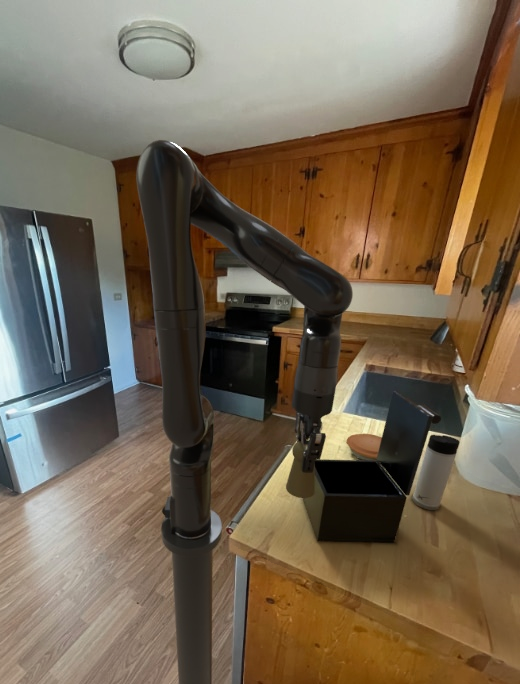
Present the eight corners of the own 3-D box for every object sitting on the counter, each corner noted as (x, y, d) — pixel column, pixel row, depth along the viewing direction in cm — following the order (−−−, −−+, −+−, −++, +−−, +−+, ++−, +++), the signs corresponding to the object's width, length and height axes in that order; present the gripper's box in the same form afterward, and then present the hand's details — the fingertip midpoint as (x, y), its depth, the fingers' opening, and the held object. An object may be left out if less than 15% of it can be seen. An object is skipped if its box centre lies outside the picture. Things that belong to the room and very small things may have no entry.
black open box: (317, 541, 75) (324, 495, 70) (303, 499, 89) (308, 459, 84) (394, 543, 75) (407, 497, 70) (368, 501, 89) (377, 460, 84)
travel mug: (418, 510, 86) (438, 442, 78) (408, 494, 92) (426, 430, 84) (444, 512, 85) (466, 444, 77) (432, 496, 91) (452, 431, 83)
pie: (394, 471, 102) (398, 457, 100) (342, 459, 108) (344, 446, 106) (394, 449, 115) (397, 436, 113) (347, 439, 121) (349, 427, 119)
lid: (429, 416, 63) (458, 417, 63) (393, 390, 77) (417, 391, 77) (405, 495, 70) (431, 496, 70) (376, 458, 84) (398, 459, 84)
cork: (310, 481, 73) (317, 437, 69) (317, 498, 67) (325, 452, 63) (283, 480, 73) (288, 436, 69) (288, 497, 68) (294, 451, 63)
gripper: (287, 374, 68) (280, 445, 75) (303, 400, 55) (292, 484, 61) (323, 375, 68) (313, 446, 75) (347, 401, 55) (332, 485, 61)
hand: (303, 463), depth 68 cm, fingers closed on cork, 5 cm apart
